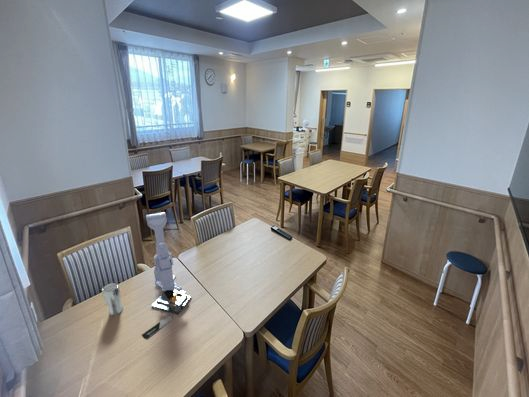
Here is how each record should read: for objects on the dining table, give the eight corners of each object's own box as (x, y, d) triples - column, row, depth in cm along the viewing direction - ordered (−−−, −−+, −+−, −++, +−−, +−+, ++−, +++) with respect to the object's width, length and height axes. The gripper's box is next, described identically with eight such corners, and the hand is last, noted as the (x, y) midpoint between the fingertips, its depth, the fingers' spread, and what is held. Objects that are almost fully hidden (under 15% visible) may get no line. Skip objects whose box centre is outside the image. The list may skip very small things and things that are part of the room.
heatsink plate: (151, 307, 130) (150, 301, 129) (166, 291, 141) (165, 285, 139) (178, 314, 126) (177, 308, 124) (191, 298, 137) (190, 292, 135)
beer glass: (108, 318, 123) (101, 294, 118) (108, 308, 129) (102, 285, 123) (124, 313, 126) (118, 289, 121) (124, 303, 132) (118, 281, 126)
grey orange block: (170, 303, 131) (169, 298, 130) (175, 298, 134) (174, 293, 133) (183, 307, 129) (183, 302, 127) (188, 301, 132) (187, 296, 131)
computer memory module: (169, 314, 126) (174, 318, 123) (170, 315, 126) (174, 319, 124) (141, 334, 115) (145, 339, 113) (141, 335, 115) (146, 340, 113)
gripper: (149, 280, 126) (153, 300, 131) (174, 286, 122) (177, 307, 127) (159, 271, 132) (162, 291, 137) (182, 277, 128) (185, 297, 133)
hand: (170, 298), depth 133 cm, fingers closed
